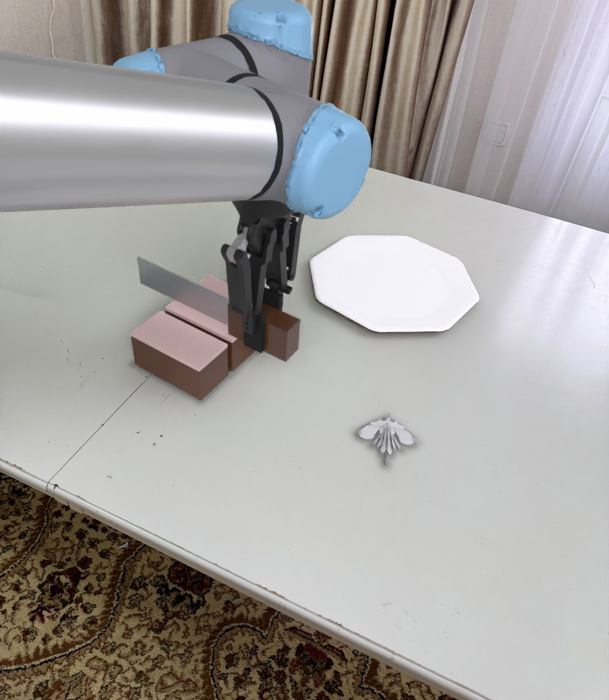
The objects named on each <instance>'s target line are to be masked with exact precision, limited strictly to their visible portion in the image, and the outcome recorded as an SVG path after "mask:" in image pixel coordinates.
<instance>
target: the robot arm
mask: <svg viewBox="0 0 609 700" xmlns="http://www.w3.org/2000/svg"><path fill="white" fill-rule="evenodd" d="M226 27H227V31H228V32H225V33H222V34H219V35H216V36H214V37H209V38H204V39H203V38H202V39H198V40H194V41H189V42H183V43H178V44H172V45H168V46H162V47H159V48H158V47H157V48H155V47H153V46H152V47H149V48H147V49H146V50H144V51H140V52H137V53H134V54H131V55H127V56H124V57H121V58H119V59H117V60H116V61H115V62H114V63H113V65H109V64H108V65H107V64H101V63H95V62H87V61H80V60H72V59H65V58H59V57H52V56H44V55H38V54H31V53H24V52H17V51H11V50H3V49H0V214H1V213H19V212H22V213H23V212H38V211H41V212H42V211H61V210H79V209H80V210H81V209H101V208H102V209H103V208H117V207H119V208H121V207H122V208H123V207H140V206H162V205H164V206H165V205H181V204H182V205H183V204H200V203H201V204H202V203H221V202H223V203H225V202H231V203H232V205H233V206H234V208H235V209H236V212H237V213H238V216H239V218H238V223H237V225H236V235H237V237H235V239H234V240H233V242H232V243H231V244H228V243H227V242H225V243H223V244H222V245H221V246H220V247H221V248H220V254H221V256H222V258H223V261H224V262H225V274H226V283H227V285H228V295H229V306H230V311H232V312H234V313H237V314H239V315H241V316H243V331H244V345H245V346H247V347H249V348H251V349H253V350H255V351H254V352H257V353H260V354H262V353H264V349H265V321H266V310H265V309H263V308H262V302H263V303H266V304H268V305H270V306H272V307H274V308H277V309H279V310H281V311H283V307H284V295H285V294H286V295H291V293H292V291H293V286H290V285H288V282H293V281H294V280H295V278H296V274H297V265H298V258H299V249H300V241H301V233H302V226H303V222H304V218H305V216H306V217H309V218H312V219H315V220H328V219H331V218H334V217H335V216H337V215H338V214H340V213H342V212H343V211H344V210H345V209H347V208H348V207H349V206H350V205H351V204H352V203H353V201H354V200H355V199H356V197H357V196H358V194H359V192H360V191H361V189H362V188H363V185H364V183H365V181H366V176H367V174H368V171H369V168H370V166H371V159H372V142H371V137H370V134H369V132H368V130H367V128H366V126H365V125H364V124H363V122H362V121H361V120H359V119H358V118H357V117H355V116H353V115H351V114H348V113H346V112H345V111H343V110H342V109H339V108H337V107H336V105H335V104H334V103H331V102H327V103H326V102H323V101H320V100H318V99H316V98H314V97H310V86H311V85H310V84H311V71H312V63H313V61H314V54H313V16H312V14H311V12H310V10H309V9H308V8H307V7H306V6H305V5H303V4H302V3H300V2H298V1H295V0H236V1H234V2H233V3H232V4H231V5H230V7H229V10H228V21H227V23H226ZM265 285H266V286H267V287H266V286H265Z"/></svg>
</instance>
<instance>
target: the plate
mask: <svg viewBox="0 0 609 700" xmlns="http://www.w3.org/2000/svg"><path fill="white" fill-rule="evenodd" d="M309 269H310V274H311V280H312V284H313V291H314V296H315V299H316V301H318V303H319V304H321V305H323V306H324V307H326V308H327V309H330V310H332V311H333V312H335V313H337V314H339V315H341V316H343V317H344V318H347V319H348V320H350V321H352V322H354V323H355V324H357V325H359V326H360V327H363V328H364V329H367V330H368V331H371V332H374V333H378V334H396V333H397V334H399V333H401V334H403V333H404V334H405V333H406V334H409V333H444V332H447V331H450V330H451V328H452V327H454V326H455V325H456V324H457V323H458V322H459V321H460V320H461V319H462V318H463V317H464V316H465V315H466V314H467V313H469V312H470V310H471V309H473V308H474V306H476V305H477V304H478V303H479V301H480V295H479V293H478V291H477V289H476V287H475V285H474V283H473V281H472V278H471V277H470V275H469V273H468V271H467V269H466V267H465V265H464V263H463V261H461V260H460V259H459V258H457V257H456V256H453V255H451V254H449V253H446V252H445V251H442V250H441V249H437V248H436V247H434V246H431V245H429V244H427V243H424V242H423V241H420V240H418V239H416V238H414V237H411V236H407V235H383V234H382V235H372V234H371V235H370V234H369V235H362V234H361V235H360V234H352V235H348V236H345V237H343V238H341V239H340V240H338V241H336V242H335V243H333V244H332V245H330V246H328V247H327V248H325V249H324V250H322V251H320V252H319V253H317V254H316V255H314V256H313V257H312V258H310V261H309Z"/></svg>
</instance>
